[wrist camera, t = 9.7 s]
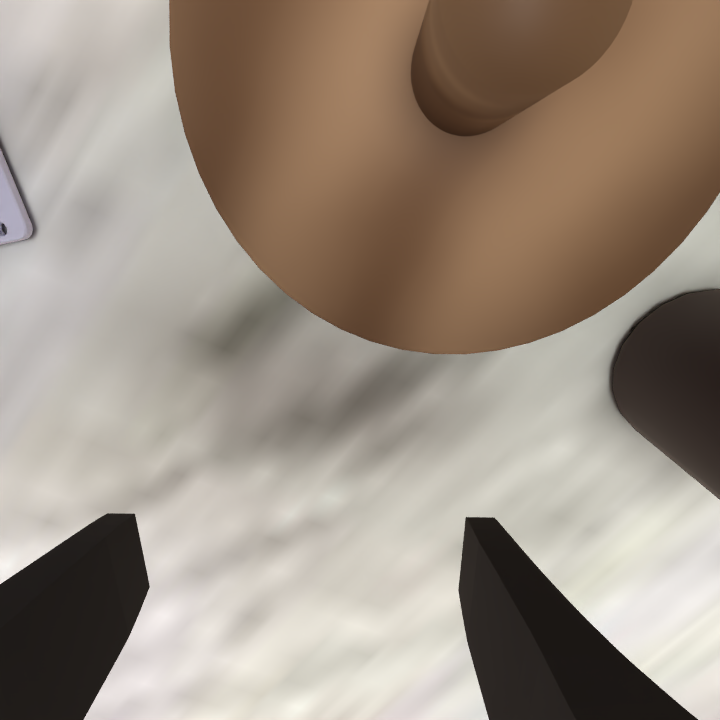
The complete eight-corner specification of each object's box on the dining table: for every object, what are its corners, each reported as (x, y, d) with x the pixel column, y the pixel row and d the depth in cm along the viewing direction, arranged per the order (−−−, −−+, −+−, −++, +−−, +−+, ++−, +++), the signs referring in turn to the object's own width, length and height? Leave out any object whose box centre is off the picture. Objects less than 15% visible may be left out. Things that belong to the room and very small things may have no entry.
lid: (166, 295, 14) (51, 345, 9) (207, -431, 9) (-3, -1270, 4) (619, 385, 14) (753, 479, 9) (888, -232, 10) (1460, -711, 5)
